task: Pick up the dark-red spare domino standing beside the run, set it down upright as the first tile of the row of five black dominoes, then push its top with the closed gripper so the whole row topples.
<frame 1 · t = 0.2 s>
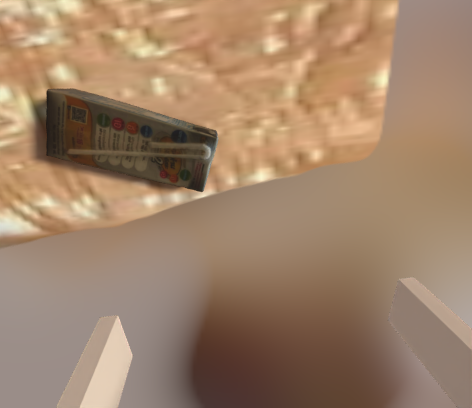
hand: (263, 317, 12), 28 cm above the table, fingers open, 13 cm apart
beverage carton: (145, 137, 35), on the table
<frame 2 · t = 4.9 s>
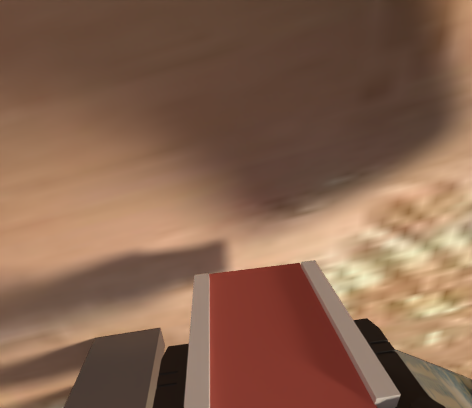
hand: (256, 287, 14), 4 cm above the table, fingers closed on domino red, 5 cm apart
domino 2: (131, 341, 20), on the table
domino red: (255, 282, 14), point 4 cm above the table, touching gripper
beverage carton: (392, 375, 27), on the table
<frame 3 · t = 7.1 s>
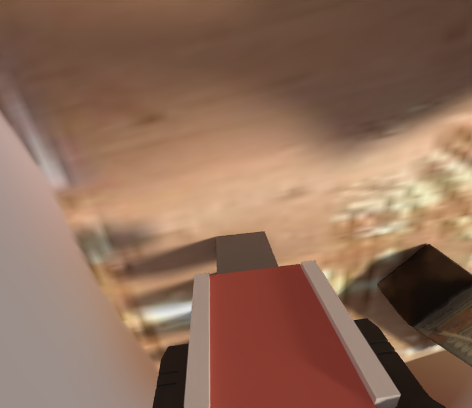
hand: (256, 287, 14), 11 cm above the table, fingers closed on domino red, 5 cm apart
domino 2: (240, 242, 25), on the table
domino red: (255, 283, 14), point 11 cm above the table, touching gripper
beverage carton: (438, 294, 32), on the table
when the fingers open (0 cm above the table, at t = 9.2 s): domino red stays where it is, on the table.
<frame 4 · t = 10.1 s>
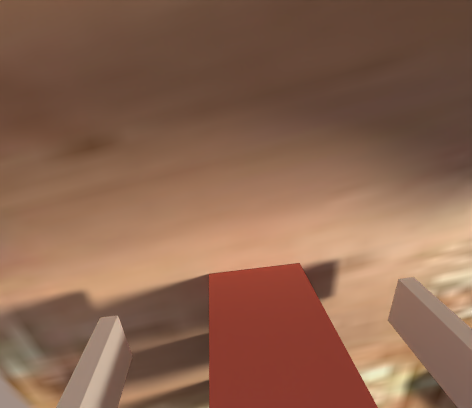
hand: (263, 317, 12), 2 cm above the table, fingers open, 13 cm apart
domino red: (255, 282, 14), on the table
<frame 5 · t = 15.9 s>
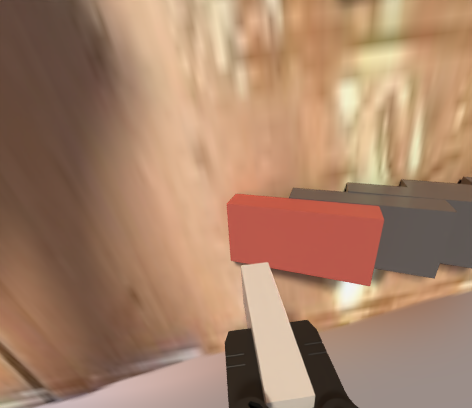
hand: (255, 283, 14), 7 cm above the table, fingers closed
domino 2: (290, 221, 20), point 1 cm above the table, tilted 64°, touching domino 3, domino red
domino 3: (343, 215, 20), point 1 cm above the table, tilted 64°, touching domino 2, domino 4
domino 4: (396, 211, 21), point 1 cm above the table, tilted 65°, touching domino 3
domino red: (233, 227, 20), point 1 cm above the table, tilted 64°, touching domino 2
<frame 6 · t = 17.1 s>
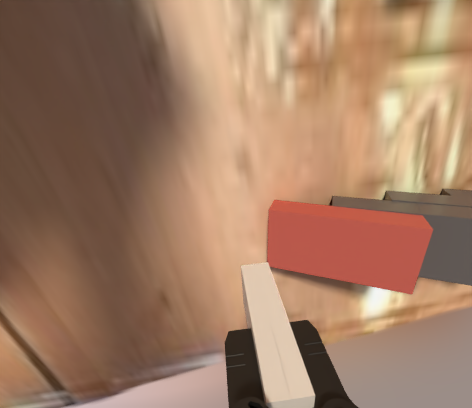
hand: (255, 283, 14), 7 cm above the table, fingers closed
domino 2: (329, 228, 20), point 1 cm above the table, tilted 65°, touching domino 3, domino red
domino 3: (382, 223, 20), point 1 cm above the table, tilted 66°, touching domino 2, domino 4
domino red: (270, 233, 20), point 1 cm above the table, tilted 65°, touching domino 2
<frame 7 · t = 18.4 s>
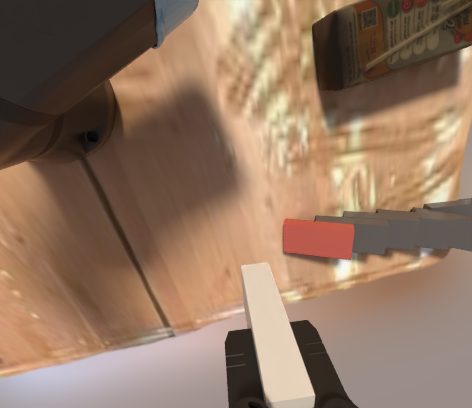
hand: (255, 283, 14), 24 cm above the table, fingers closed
domino 2: (315, 232, 40), point 1 cm above the table, tilted 66°, touching domino 3, domino red
domino 3: (343, 227, 40), point 1 cm above the table, tilted 67°, touching domino 2, domino 4
domino 5: (409, 223, 41), point 1 cm above the table, tilted 66°, touching domino 4, domino 6
domino 4: (375, 225, 41), point 1 cm above the table, tilted 65°, touching domino 3, domino 5
domino red: (284, 235, 40), point 1 cm above the table, tilted 66°, touching domino 2
domino 6: (423, 219, 42), point 1 cm above the table, tilted 90°, touching domino 5
beverage carton: (384, 36, 31), on the table
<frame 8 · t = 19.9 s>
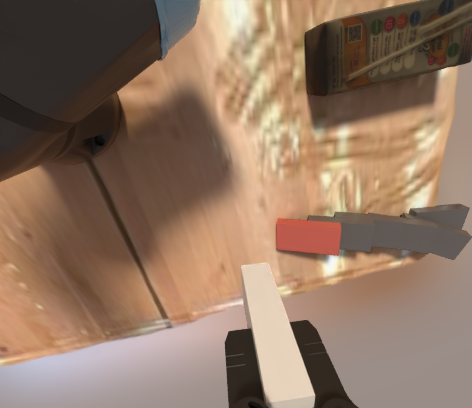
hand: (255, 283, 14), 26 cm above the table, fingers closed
domino 2: (307, 230, 43), point 1 cm above the table, tilted 67°, touching domino 3, domino red
domino 3: (334, 226, 44), point 1 cm above the table, tilted 68°, touching domino 2
domino 5: (398, 226, 44), point 1 cm above the table, tilted 66°, touching domino 6
domino 4: (365, 227, 44), point 1 cm above the table, tilted 66°
domino red: (277, 233, 43), point 1 cm above the table, tilted 67°, touching domino 2
domino 6: (409, 222, 45), point 1 cm above the table, tilted 90°, touching domino 5
beverage carton: (370, 51, 34), on the table
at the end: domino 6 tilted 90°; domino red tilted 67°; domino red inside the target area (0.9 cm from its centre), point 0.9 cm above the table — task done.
